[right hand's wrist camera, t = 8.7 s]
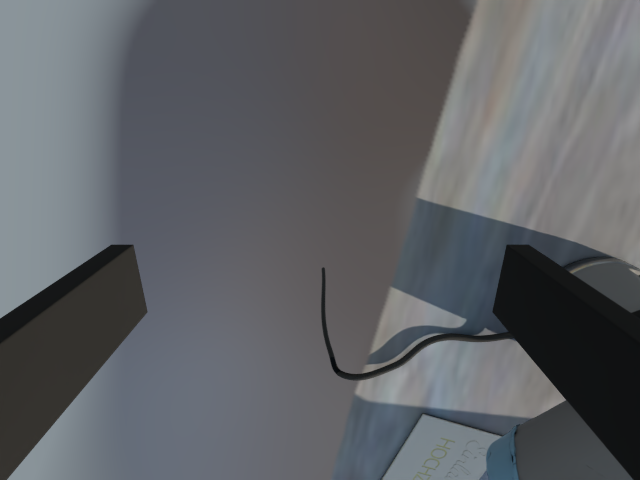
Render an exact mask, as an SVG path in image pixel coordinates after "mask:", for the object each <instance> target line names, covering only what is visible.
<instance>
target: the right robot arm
mask: <svg viewBox="0 0 640 480" xmlns="http://www.w3.org/2000/svg"><path fill="white" fill-rule="evenodd" d="M325 291H326V278H325V268H324V267H323V268H322V294H321V320H322V329H323V335H324V340H325V344H326V347H327V350H328V354H329V358H330V362H331V366H332V369H333V370H334V372H335V373H336V374H337V375H338V376H340V377H342V378H344V379H348V380H366V379H370V378H373V377H376V376H379V375H382V374H384V373H387V372H389V371H392V370H394V369H396V368H399V367H400V366H402V365H404V364H405V363H407V362H408V361H409V360H410V359H412V358H413V357H414V356H415V355H416V354H417V353H418V352H420V351H421V350H422V349H423V348H425V347H427V346H428V345H430V344H433V343H436V342H439V341H445V340H459V341H468V342H490V341H497V340H504V339H510V338H515V339H516V341H517V342H518V343H519V344H520V345H521V347H522V348H523V349H524V350H525V351H526V352H527V354H528V355H529V356H530V357H531V358H532V360H533V361H534V362H535V363H536V364H537V366H538V367H539V368H540V369H541V370H542V372H543V373H544V374H545V375H546V376H547V378H548V379H549V380H550V381H551V382H552V383H553V385H554V386H555V387H556V388H557V389H558V391H559V392H560V393H561V394H562V395H563V397H564V398H565V399H566V401H564V402H562V403H560V404H559V405H557V406H555V407H553V408H551V409H550V410H548V411H546V412H544V413H542V414H541V415H539V416H537V417H535V418H533V419H531V420H529V421H527V422H525V423H523V424H522V425H520V424H519V425H516V426H514V427H513V429H512V430H511V431H510V432H508V433H507V434H505V435H504V436H502V437H501V438H499V439H498V440H496V441H494V442H493V443H492V444H491V445H490V446H489V448H488V451H487V455H486V464H487V466H486V468H487V474H488V479H489V480H640V269H639V268H637V267H635V266H633V265H631V264H629V263H627V262H625V261H622V260H619V259H615V258H610V257H595V258H588V259H584V260H580V261H577V262H574V263H572V264H570V265H567V266H565V267H564V268H563V267H561V266H560V265H558V264H557V263H555V262H554V261H552V260H551V259H549V258H548V257H546V256H545V255H543V254H542V253H540V252H539V251H537V250H536V249H534V248H533V247H531V246H530V245H507V246H506V251H505V255H504V260H503V265H502V270H501V274H500V279H499V284H498V289H497V293H496V298H495V303H494V307H493V313H494V314H495V316H496V317H497V318H498V319H499V320H500V321H501V323H502V324H503V325H504V326H505V327H506V329H507V330H508V331H509V332H506V333H500V334H493V335H484V336H472V335H462V334H441V335H437V336H433V337H430V338H428V339H426V340H424V341H422V342H421V343H419V344H418V345H416V346H415V347H414V348H413V349H412V350H411V351H410V352H409V353H407V354H406V355H405V356H404V357H403V358H401V359H400V360H398V361H396V362H394V363H392V364H390V365H387V366H385V367H382V368H380V369H377V370H374V371H371V372H368V373H363V374H349V373H345V372H343V371H341V370H340V369H339V368H338V366H337V364H336V360H335V356H334V353H333V350H332V347H331V344H330V340H329V336H328V331H327V324H326V313H325ZM146 313H147V307H146V303H145V298H144V293H143V289H142V284H141V279H140V274H139V270H138V265H137V260H136V255H135V251H134V246H133V245H110V246H109V247H107V248H106V249H104V250H103V251H101V252H100V253H98V254H97V255H95V256H94V257H92V258H91V259H89V260H88V261H86V262H85V263H83V264H82V265H80V266H79V267H77V268H76V269H74V270H73V271H71V272H70V273H68V274H67V275H65V276H64V277H62V278H61V279H59V280H58V281H56V282H55V283H53V284H52V285H50V286H49V287H47V288H46V289H44V290H43V291H41V292H40V293H38V294H37V295H35V296H34V297H32V298H31V299H29V300H27V301H26V302H25V303H23V304H22V305H20V306H18V307H17V308H15V309H14V310H12V311H11V312H9V313H8V314H6V315H5V316H3V317H2V318H0V480H7V479H8V478H9V476H10V475H11V474H12V473H13V472H14V470H15V469H16V468H17V467H18V466H19V464H20V463H21V462H22V461H23V460H24V459H25V457H26V456H27V455H28V454H29V453H30V451H31V450H32V449H33V448H34V447H35V445H36V444H37V443H38V442H39V441H40V439H41V438H42V437H43V436H44V435H45V433H46V432H47V431H48V430H49V429H50V428H51V426H52V425H53V424H54V423H55V422H56V420H57V419H58V418H59V417H60V416H61V414H62V413H63V412H64V411H65V410H66V408H67V407H68V406H69V405H70V404H71V403H72V401H73V400H74V399H75V398H76V396H77V395H78V394H79V393H80V392H81V391H82V389H83V388H84V387H85V386H86V385H87V383H88V382H89V381H90V380H91V379H92V378H93V376H94V375H95V374H96V373H97V372H98V370H99V369H100V368H101V367H102V366H103V364H104V363H105V362H106V361H107V360H108V358H109V357H110V356H111V355H112V354H113V352H114V351H115V350H116V349H117V348H118V346H119V345H120V344H121V343H122V342H123V341H124V339H125V338H126V337H127V336H128V335H129V333H130V332H131V331H132V330H133V329H134V327H135V326H136V325H137V324H138V323H139V321H140V320H141V319H142V318H143V317H144V316H145V314H146Z"/></svg>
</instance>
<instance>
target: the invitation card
mask: <svg viewBox="0 0 640 480" xmlns="http://www.w3.org/2000/svg"><path fill="white" fill-rule="evenodd" d="M501 437H502V436H499V435H496V434H492V433H489V432H485V431H482V430H478V429H475V428H471V427H468V426H464V425H460V424H457V423H453V422H450V421H446V420H443V419H439V418H436V417H432V416H429V415H425V414H422V416H421V418H420V419H419V421H418V422H417V424H416V426H415V427H414V429H413V430H412V432H411V434H410V435H409V437H408V438H407V440H406V441H405V443H404V445H403V446H402V448H401V449H400V451H399V453H398V454H397V456H396V457H395V459H394V461H393V462H392V464H391V465H390V467H389V468H388V470H387V472H386V473H385V475H384V476H383V478H382V480H479V479H480V478H481V476H482V475H483V474H484V473H485V471H486V470H487V468H486V466H487V464H486V455H487V451H488V448H489V446H490V445H491V444H492V443H493V442H494V441H496V440H498V439H499V438H501Z"/></svg>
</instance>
